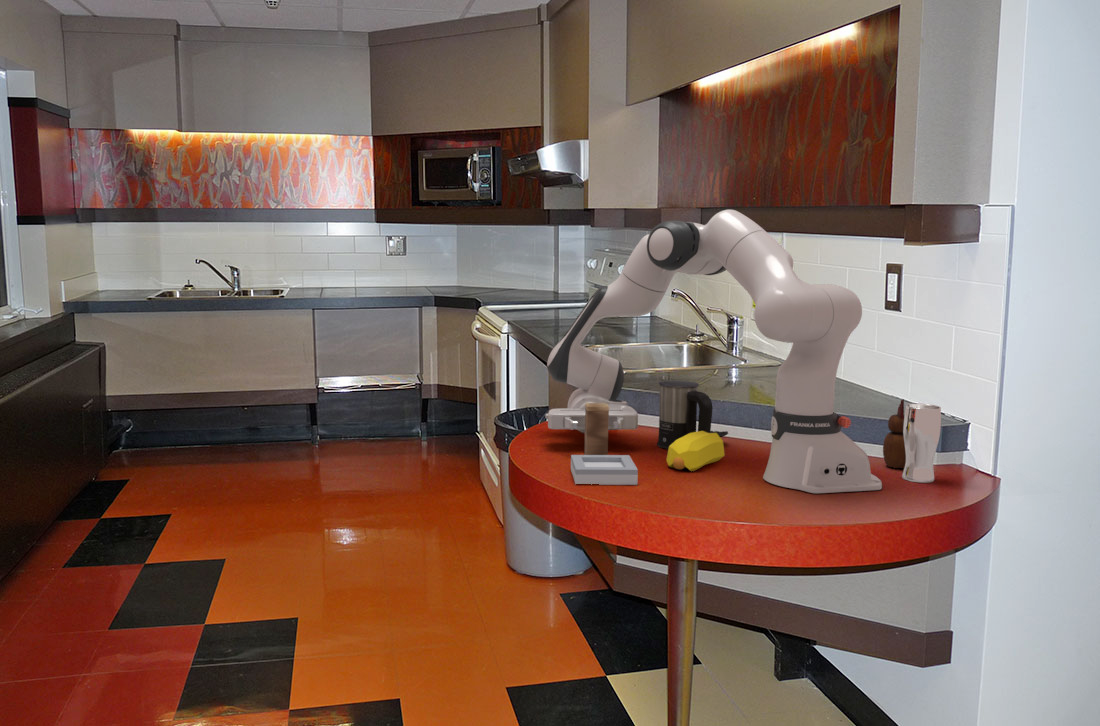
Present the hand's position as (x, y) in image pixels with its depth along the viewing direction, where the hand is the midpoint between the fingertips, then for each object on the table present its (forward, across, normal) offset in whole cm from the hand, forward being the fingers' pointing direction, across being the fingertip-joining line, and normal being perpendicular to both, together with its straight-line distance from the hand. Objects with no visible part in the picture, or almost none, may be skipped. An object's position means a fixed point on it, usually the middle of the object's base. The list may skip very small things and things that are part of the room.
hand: (595, 426), depth 199 cm
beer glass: (+18, +64, +7) cm, 67 cm away
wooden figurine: (+8, +64, +7) cm, 65 cm away
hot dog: (+6, +21, +7) cm, 23 cm away
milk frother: (-12, +24, +7) cm, 28 cm away
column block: (+3, 0, +7) cm, 8 cm away
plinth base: (+17, 0, +7) cm, 19 cm away
